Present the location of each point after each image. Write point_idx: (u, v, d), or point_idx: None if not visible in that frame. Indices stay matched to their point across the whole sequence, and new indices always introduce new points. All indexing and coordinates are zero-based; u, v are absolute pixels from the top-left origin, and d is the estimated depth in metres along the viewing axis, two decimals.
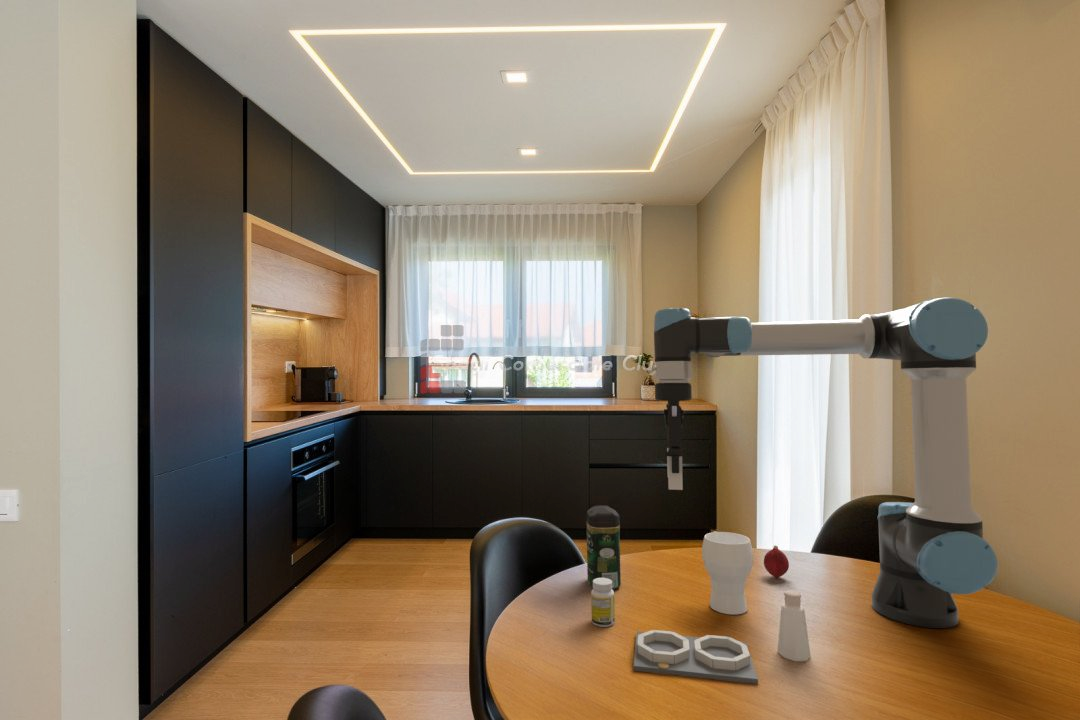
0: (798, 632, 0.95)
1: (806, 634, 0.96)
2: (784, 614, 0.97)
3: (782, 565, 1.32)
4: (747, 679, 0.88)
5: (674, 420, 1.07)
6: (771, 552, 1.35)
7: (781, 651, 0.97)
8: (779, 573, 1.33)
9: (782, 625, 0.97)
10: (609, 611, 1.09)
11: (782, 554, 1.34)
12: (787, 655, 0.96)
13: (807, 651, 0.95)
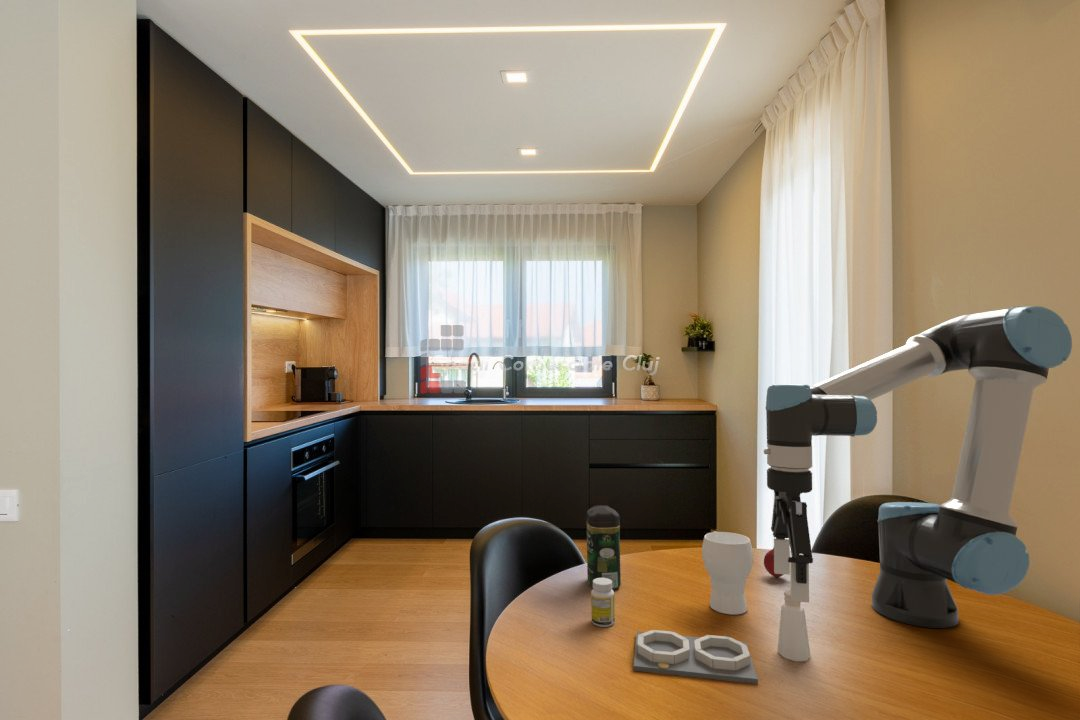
0: (798, 632, 0.95)
1: (806, 634, 0.96)
2: (784, 614, 0.97)
3: None
4: (747, 679, 0.88)
5: (799, 520, 0.91)
6: (771, 552, 1.35)
7: (781, 651, 0.97)
8: None
9: (782, 625, 0.97)
10: (609, 611, 1.09)
11: None
12: (787, 655, 0.96)
13: (807, 651, 0.95)
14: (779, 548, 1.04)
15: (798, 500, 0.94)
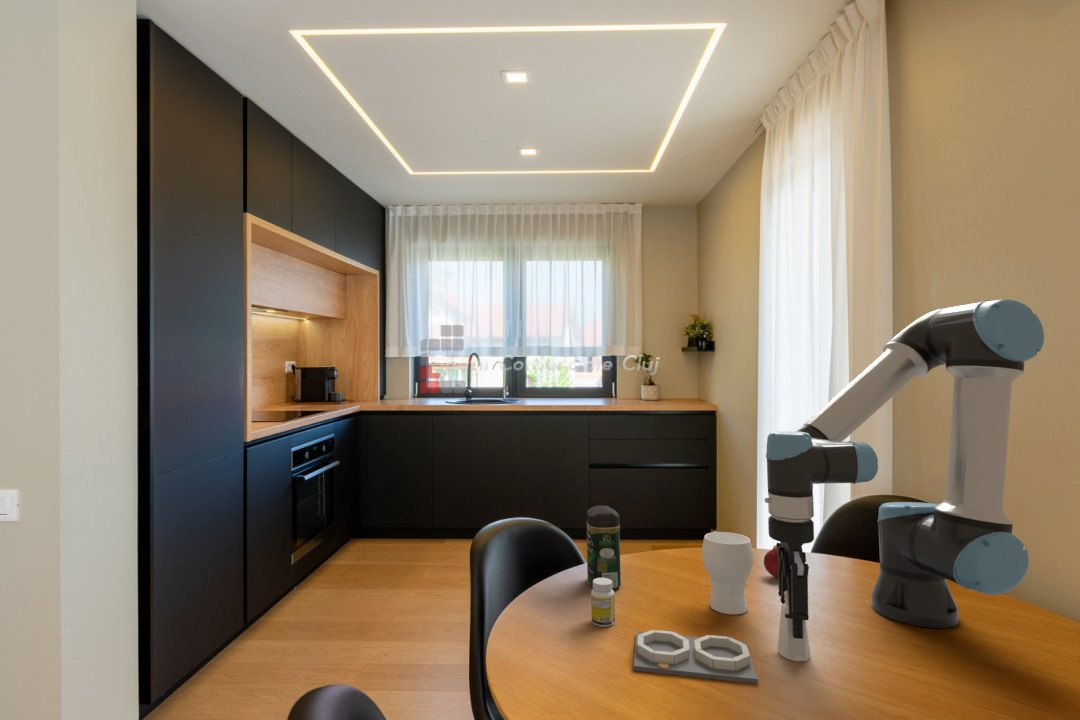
0: None
1: (806, 634, 0.96)
2: (784, 614, 0.97)
3: None
4: (747, 679, 0.88)
5: (800, 581, 0.92)
6: (771, 552, 1.35)
7: (781, 651, 0.97)
8: None
9: (782, 625, 0.97)
10: (609, 611, 1.09)
11: None
12: (787, 655, 0.96)
13: (807, 651, 0.95)
14: None
15: (800, 555, 0.94)
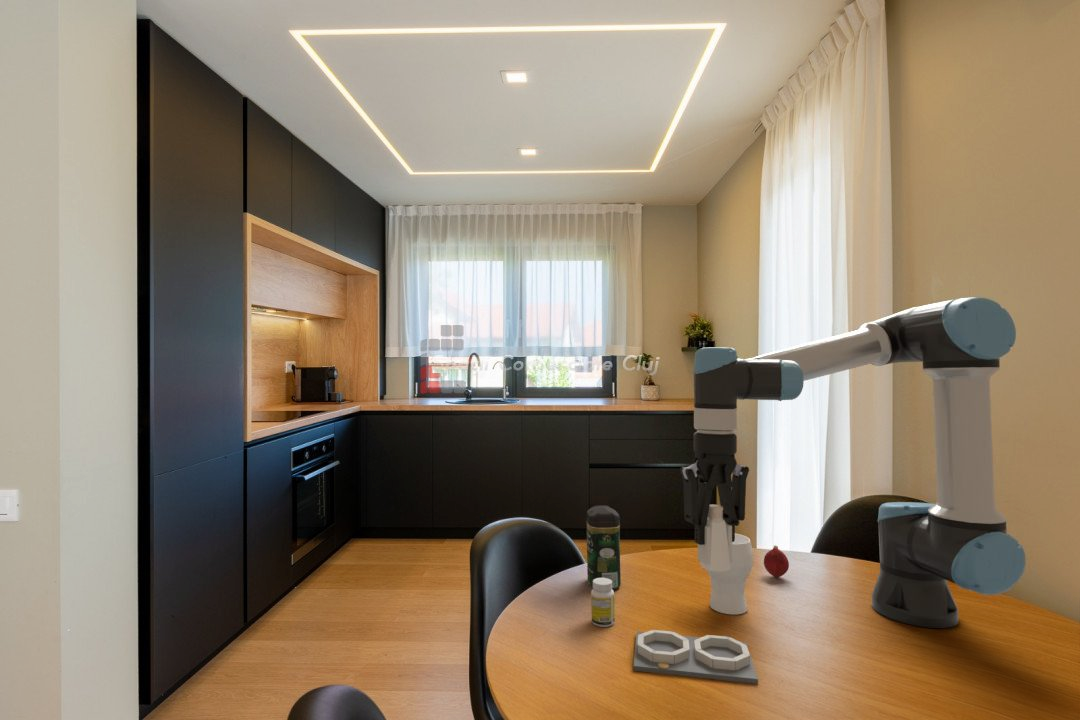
0: None
1: (718, 548, 0.96)
2: None
3: (782, 565, 1.32)
4: (747, 679, 0.88)
5: (687, 485, 0.97)
6: (771, 552, 1.35)
7: None
8: (779, 573, 1.33)
9: None
10: (609, 611, 1.09)
11: (782, 554, 1.34)
12: (700, 561, 0.99)
13: (715, 563, 0.96)
14: None
15: (697, 463, 0.97)
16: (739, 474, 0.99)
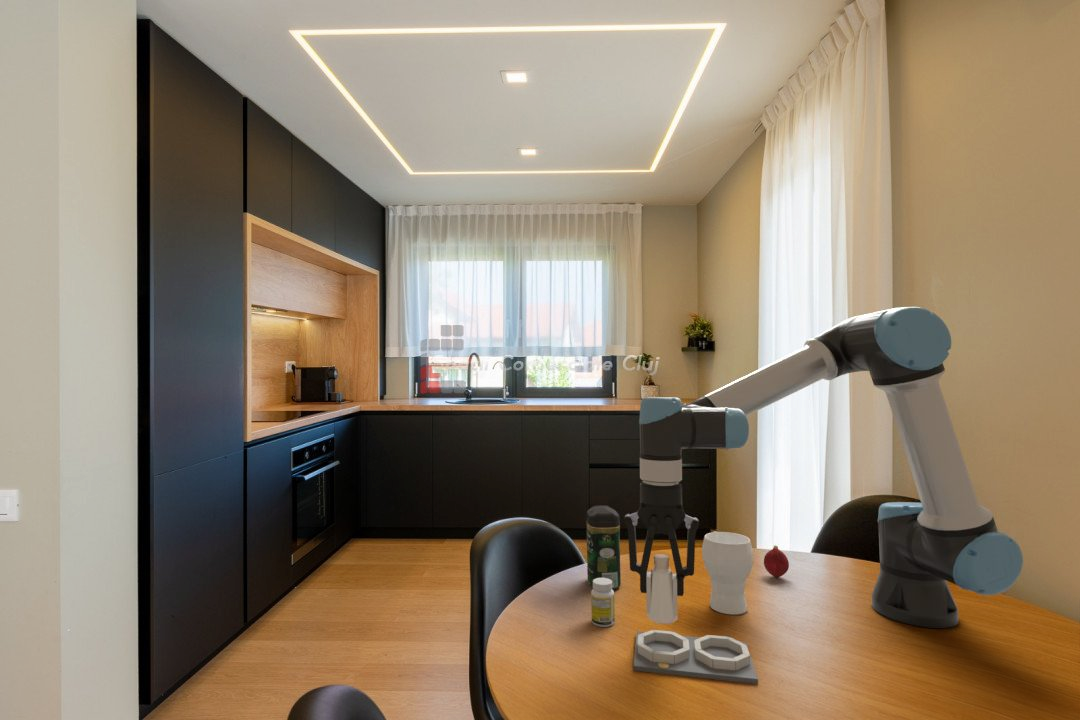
0: None
1: (657, 599, 0.96)
2: None
3: (782, 565, 1.32)
4: (747, 679, 0.88)
5: None
6: (771, 552, 1.35)
7: None
8: (779, 573, 1.33)
9: None
10: (609, 611, 1.09)
11: (782, 554, 1.34)
12: None
13: (653, 613, 0.96)
14: None
15: None
16: (688, 527, 0.96)
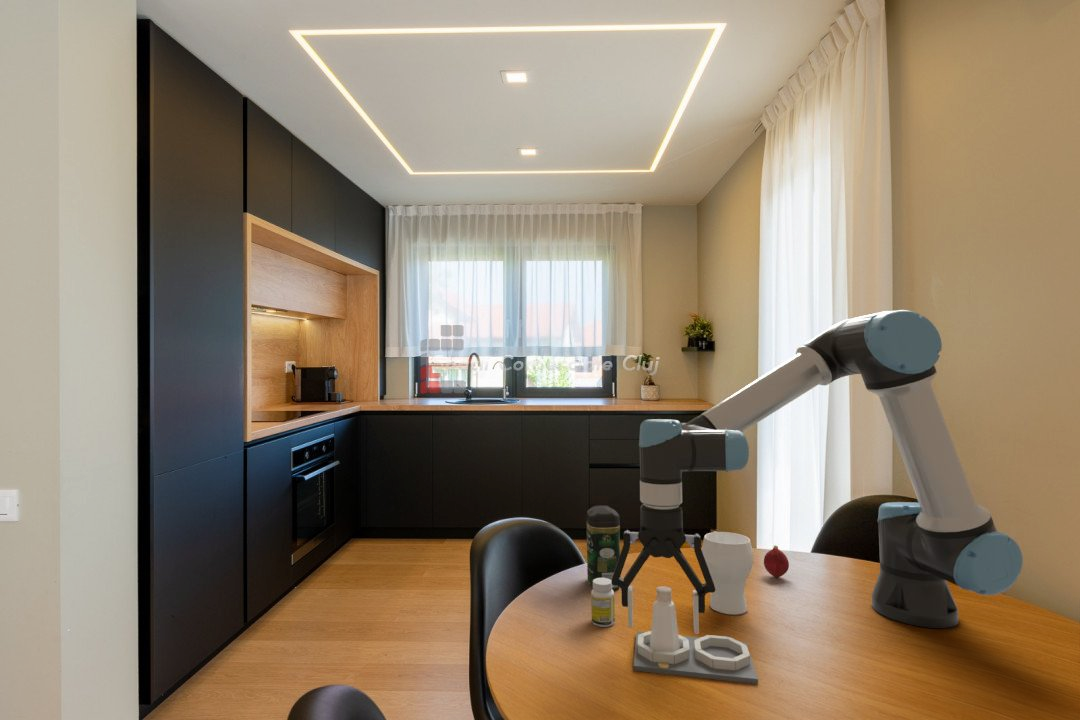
0: (653, 622, 0.98)
1: (659, 632, 0.96)
2: None
3: (782, 565, 1.32)
4: (747, 679, 0.88)
5: (622, 547, 1.00)
6: (771, 552, 1.35)
7: None
8: (779, 573, 1.33)
9: None
10: (609, 611, 1.09)
11: (782, 554, 1.34)
12: None
13: (656, 646, 0.96)
14: (693, 601, 0.97)
15: (639, 532, 0.98)
16: (692, 546, 0.96)
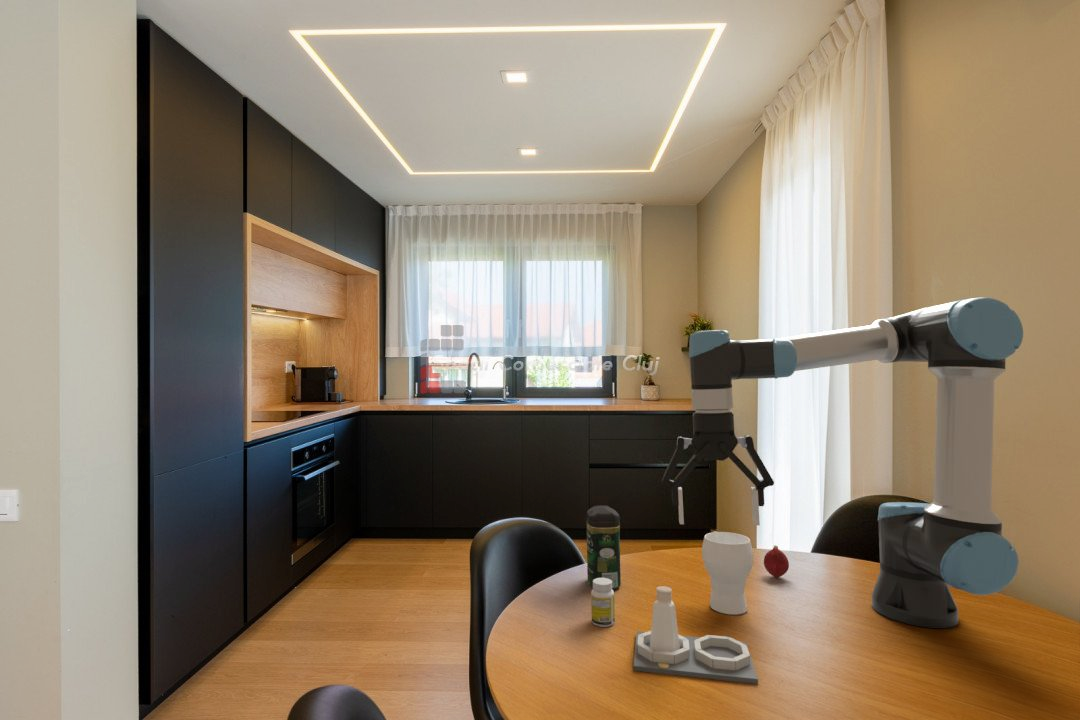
0: (653, 622, 0.98)
1: (659, 632, 0.96)
2: None
3: (782, 565, 1.32)
4: (747, 679, 0.88)
5: (675, 451, 1.05)
6: (771, 552, 1.35)
7: None
8: (779, 573, 1.33)
9: None
10: (609, 611, 1.09)
11: (782, 554, 1.34)
12: None
13: (656, 646, 0.96)
14: (752, 496, 1.02)
15: (693, 438, 1.03)
16: (745, 446, 1.01)
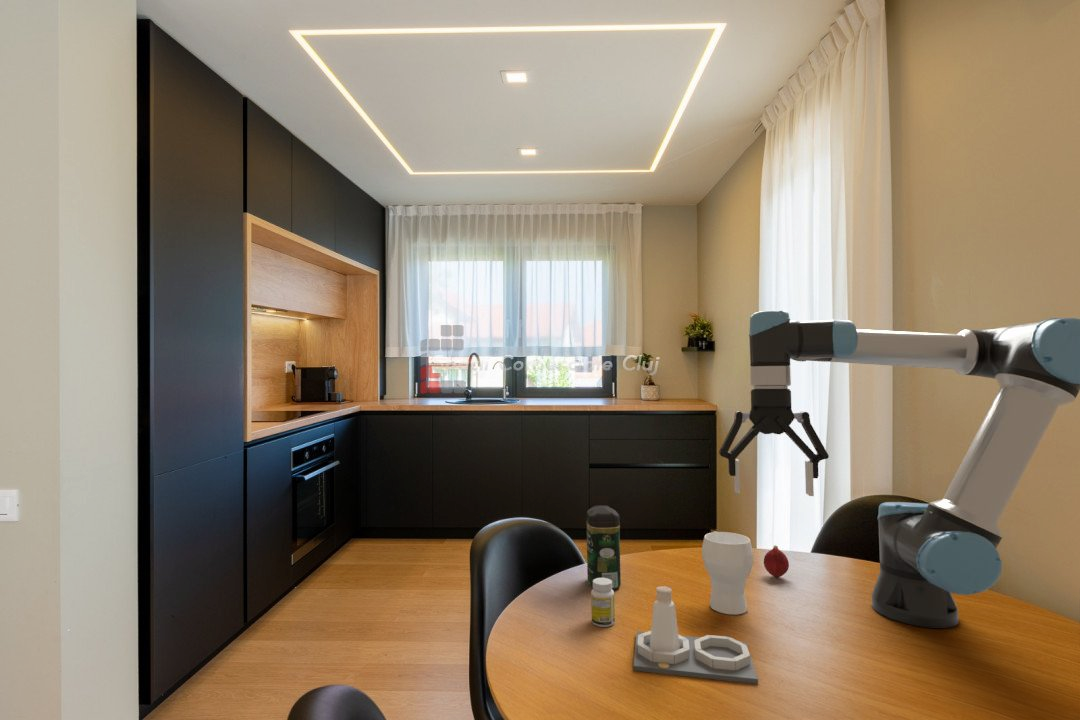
0: (653, 622, 0.98)
1: (659, 632, 0.96)
2: None
3: (782, 565, 1.32)
4: (747, 679, 0.88)
5: (733, 425, 1.10)
6: (771, 552, 1.35)
7: None
8: (779, 573, 1.33)
9: None
10: (609, 611, 1.09)
11: (782, 554, 1.34)
12: None
13: (656, 646, 0.96)
14: (806, 469, 1.08)
15: (751, 412, 1.09)
16: (801, 421, 1.07)
